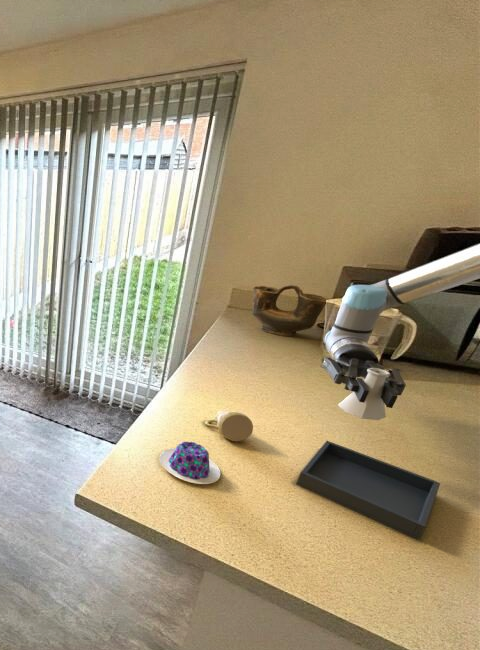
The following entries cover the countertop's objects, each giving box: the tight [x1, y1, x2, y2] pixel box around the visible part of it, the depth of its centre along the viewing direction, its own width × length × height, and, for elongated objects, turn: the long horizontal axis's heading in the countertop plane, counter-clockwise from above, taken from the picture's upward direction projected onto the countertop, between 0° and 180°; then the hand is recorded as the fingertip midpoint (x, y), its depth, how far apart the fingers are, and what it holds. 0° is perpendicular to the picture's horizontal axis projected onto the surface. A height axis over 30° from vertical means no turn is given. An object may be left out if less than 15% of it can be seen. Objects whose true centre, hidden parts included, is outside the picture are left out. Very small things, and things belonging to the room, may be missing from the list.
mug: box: [204, 410, 254, 442], centre depth 98 cm, size 8×10×10 cm
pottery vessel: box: [251, 284, 329, 338], centre depth 158 cm, size 25×11×20 cm, turn 38°
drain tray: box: [295, 440, 441, 541], centre depth 79 cm, size 18×18×3 cm
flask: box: [337, 368, 390, 421], centre depth 83 cm, size 7×7×10 cm
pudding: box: [159, 441, 221, 485], centre depth 86 cm, size 12×12×5 cm
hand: (377, 399), depth 79 cm, fingers closed on flask, 3 cm apart
